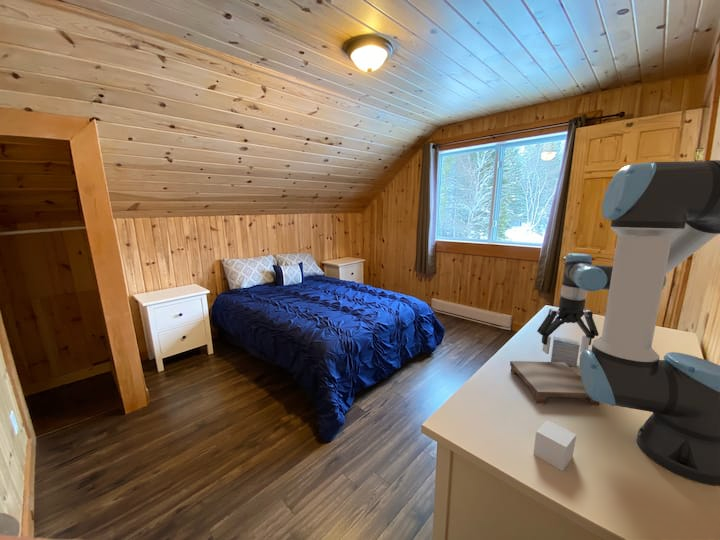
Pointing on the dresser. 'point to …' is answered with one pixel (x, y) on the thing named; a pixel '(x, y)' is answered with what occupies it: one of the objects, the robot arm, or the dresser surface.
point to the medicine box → (565, 351)
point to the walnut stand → (551, 380)
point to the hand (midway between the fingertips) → (564, 352)
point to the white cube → (554, 444)
